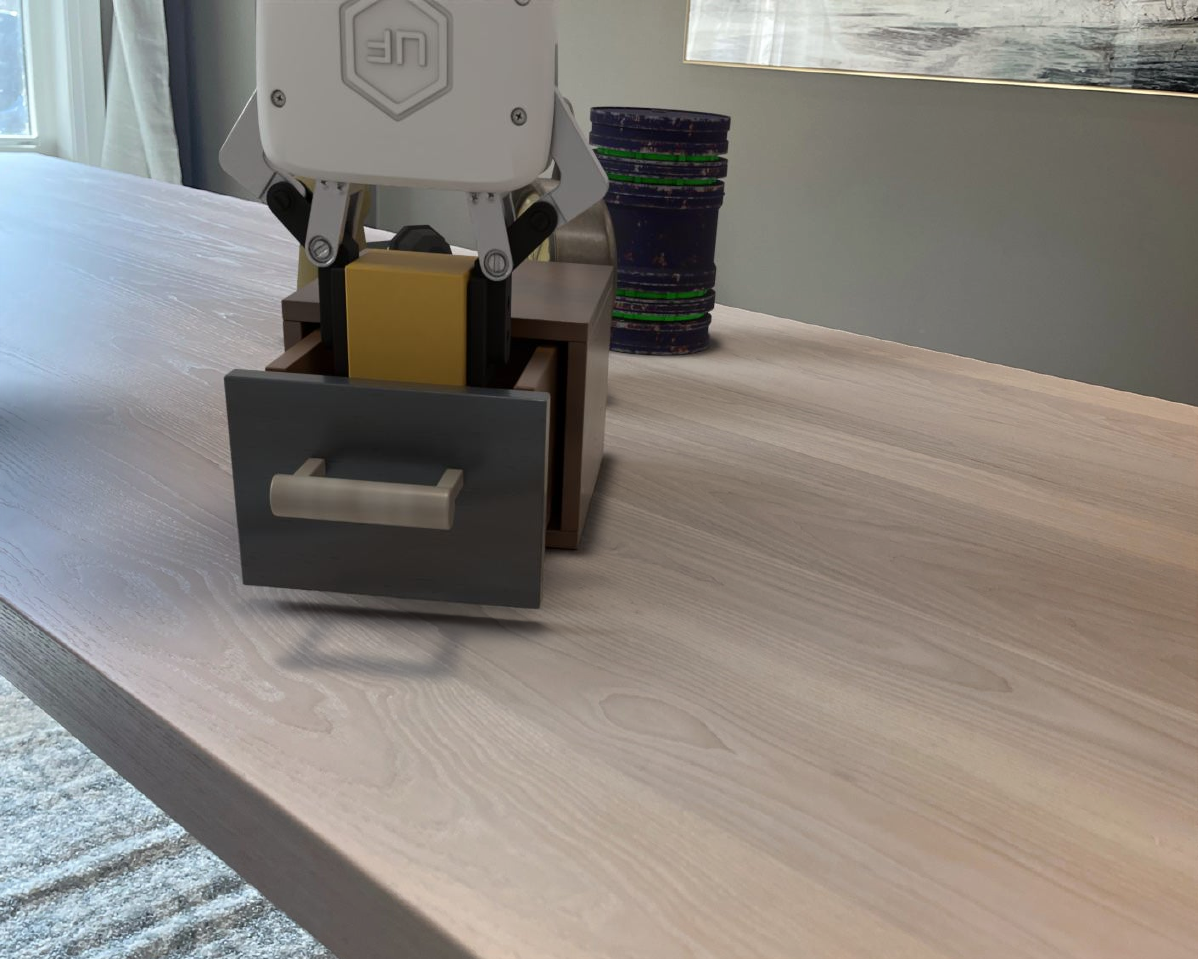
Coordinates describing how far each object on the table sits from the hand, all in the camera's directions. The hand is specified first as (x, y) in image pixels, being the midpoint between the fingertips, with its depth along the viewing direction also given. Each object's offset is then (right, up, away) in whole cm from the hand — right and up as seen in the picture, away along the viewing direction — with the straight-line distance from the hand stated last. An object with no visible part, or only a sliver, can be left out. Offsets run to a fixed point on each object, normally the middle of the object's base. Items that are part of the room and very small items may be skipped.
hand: (417, 371), depth 51 cm
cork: (-11, +15, +39) cm, 43 cm away
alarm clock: (+4, +9, +31) cm, 33 cm away
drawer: (0, -7, +2) cm, 7 cm away
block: (0, 0, 0) cm, 0 cm away
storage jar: (+11, +17, +45) cm, 49 cm away
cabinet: (+1, -2, +13) cm, 13 cm away
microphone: (-11, +27, +59) cm, 65 cm away
